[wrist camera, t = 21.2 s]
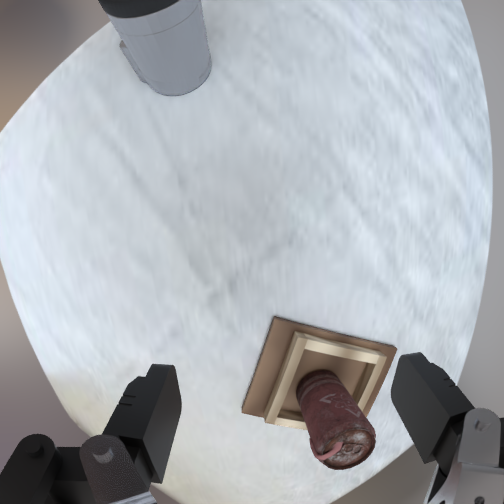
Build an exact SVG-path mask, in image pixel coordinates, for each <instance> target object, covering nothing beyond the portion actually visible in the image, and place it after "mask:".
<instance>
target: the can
mask: <svg viewBox="0 0 504 504" xmlns="http://www.w3.org/2000/svg"><path fill="white" fill-rule="evenodd" d="M296 398H297V401H298V404H299V406H300V409H301V412H302V415H303V418H304V421H305V424H306V427H307V429H308V432H309V435H310V438H309V439H310V446H311V449H312V452H313V454H314V456H315V457H316V458H317V459H318V460H319V461H320V462H322V463H323V464H324V465H326V466H327V467H328V468H331V469H334V470H344V469H348V468H352V467H354V466H356V465H359V464H360V463H361V462H363V461H364V460H366V459H367V458H368V457H369V455H370V454H371V453H372V451H373V449H374V448H375V443H376V440H375V437H376V434H375V430H374V428H373V427H372V425H371V424H370V422H369V421H368V419H367V418H366V417H365V415H364V414H363V412H362V411H361V409H360V408H359V406H358V405H357V404H356V402H355V401H354V399H353V398H352V396H351V395H350V393H349V392H348V391H347V389H346V388H345V386H344V385H343V383H342V382H341V380H340V379H339V378H338V377H337V375H336V374H334V373H332V372H330V371H326V370H319V371H314V372H312V373H309V374H308V375H306V376H305V377H304V378H302V380H301V381H300V382H299V384H298V386H297V389H296Z"/></svg>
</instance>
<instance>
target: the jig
mask: <svg viewBox="0 0 504 504" xmlns="http://www.w3.org/2000/svg"><path fill="white" fill-rule="evenodd" d="M396 351H397V348H396V347H394V346H391V345H387V344H382V343H378V342H373V341H369V340H365V339H360V338H356V337H352V336H348V335H343V334H339V333H335V332H331V331H327V330H323V329H319V328H315V327H312V326H308V325H304V324H300V323H296V322H293V321H289V320H285V319H282V318H278V317H273V320H272V323H271V326H270V329H269V332H268V335H267V338H266V341H265V344H264V347H263V350H262V353H261V356H260V359H259V362H258V365H257V367H256V370H255V373H254V376H253V379H252V382H251V384H250V387H249V390H248V393H247V395H246V398H245V401H244V404H243V406H242V413H244V414H249V415H253V416H258V417H263V418H264V420H265V423H269V424H274V425H279V426H285V427H291V428H297V429H303V430H308V429H307V427H306V424H305V421H304V418H303V415H302V412H301V409H300V406H299V404H298V401H297V398H296V389H297V386H298V384H299V382H300V381H301V380H302V378H304V377H305V376H306V375H308V374H309V373H312V372H314V371H319V370H326V371H330V372H332V373H334V374H336V375H337V377H338V378H339V379H340V380H341V382H342V383H343V385H344V386H345V388H346V389H347V391H348V392H349V393H350V395H351V396H352V398H353V399H354V401H355V402H356V404H357V405H358V406H359V408H360V409H361V411H362V412H363V414H364V415H365V417H367V415H368V413H369V411H370V409H371V407H372V405H373V403H374V401H375V399H376V397H377V395H378V393H379V391H380V388H381V386H382V384H383V382H384V380H385V377H386V375H387V373H388V371H389V368H390V366H391V363H392V361H393V359H394V356H395V354H396Z"/></svg>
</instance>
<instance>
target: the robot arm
mask: <svg viewBox="0 0 504 504" xmlns="http://www.w3.org/2000/svg"><path fill="white" fill-rule="evenodd" d="M98 1H99V3H100V4H101V6H102V8H103V9H104V11H105V12H106V14H107V15H108V17H109V19H110V20H111V22H112V24H113V25H114V27H115V29H116V30H117V32H118V34H119V35H120V37H121V39H122V41H121V43H120V49H121V50H122V52H123V53H124V55H125V56H126V58H127V59H128V61H129V63H130V64H131V66H132V67H133V69H134V70H135V72H136V74H137V75H138V77H139V78H140V80H141V81H142V82H146V83H148V84H149V85H150V87H151V88H152V89H153V90H155V91H156V92H158V93H160V94H162V95H168V96H177V95H182V94H185V93H188V92H191V91H192V90H194V89H196V88H197V87H199V86H200V85H201V84H202V83H203V82H204V81H205V80H206V79H207V77H208V75H209V73H210V70H211V57H210V52H209V46H208V40H207V34H206V28H205V22H204V16H203V10H202V4H201V0H98ZM391 399H392V402H393V404H394V406H395V408H396V410H397V412H398V414H399V416H400V417H401V419H402V421H403V423H404V425H405V427H406V429H407V431H408V433H409V435H410V436H411V438H412V440H413V442H414V444H415V446H416V448H417V450H418V452H419V454H420V456H421V458H422V460H423V462H424V464H426V463H429V462H432V461H435V460H436V461H437V462H438V465H437V467H436V469H435V471H434V474H433V478H432V481H431V484H430V486H429V490H428V492H427V495H426V498H425V500H424V503H423V504H504V418H499V417H498V416H497V415H496V414H495V413H494V412H492V411H491V410H489V409H485V408H474V406H473V405H472V404H471V403H470V401H469V400H468V399H467V398H466V396H465V395H464V394H463V393H462V391H461V390H460V389H459V388H458V387H457V386H455V383H454V382H453V380H452V379H450V377H449V376H448V374H447V373H446V372H445V371H444V370H443V369H442V368H440V367H439V366H437V365H435V364H434V363H430V362H429V361H428V360H427V359H426V357H425V356H424V355H423V354H422V353H421V352H418V353H412V354H405V355H401V357H400V358H399V361H398V365H397V369H396V373H395V376H394V380H393V384H392V387H391ZM181 407H182V402H181V395H180V390H179V385H178V380H177V374H176V369H175V367H174V365H164V364H152V365H151V367H150V369H149V371H148V373H147V375H146V377H141V376H138V377H137V378H136V379H134V380H133V381H132V382H131V383H129V384H128V386H127V388H126V389H125V391H124V393H123V396H122V397H121V399H120V401H119V405H118V404H117V406H116V408H115V410H114V412H113V414H112V416H111V418H110V420H109V422H108V424H107V426H106V427H105V429H104V431H103V433H102V435H96V436H93V437H91V438H89V439H87V440H86V441H85V442H84V443H83V444H82V446H81V447H56V446H55V444H54V442H53V441H52V440H51V439H50V438H49V437H48V436H46V435H42V434H32V435H29V436H27V437H25V438H24V439H22V440H21V441H20V442H19V444H18V445H17V447H16V449H15V450H14V452H13V454H12V455H11V457H10V459H9V460H8V462H7V464H6V465H5V467H4V469H3V471H2V472H1V474H0V504H157V503H156V501H155V499H154V498H153V496H152V495H151V493H150V492H149V487H150V484H151V482H154V483H160V484H162V481H163V478H164V474H165V470H166V466H167V462H168V459H169V455H170V451H171V447H172V444H173V440H174V436H175V433H176V429H177V425H178V422H179V418H180V415H181Z"/></svg>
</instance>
